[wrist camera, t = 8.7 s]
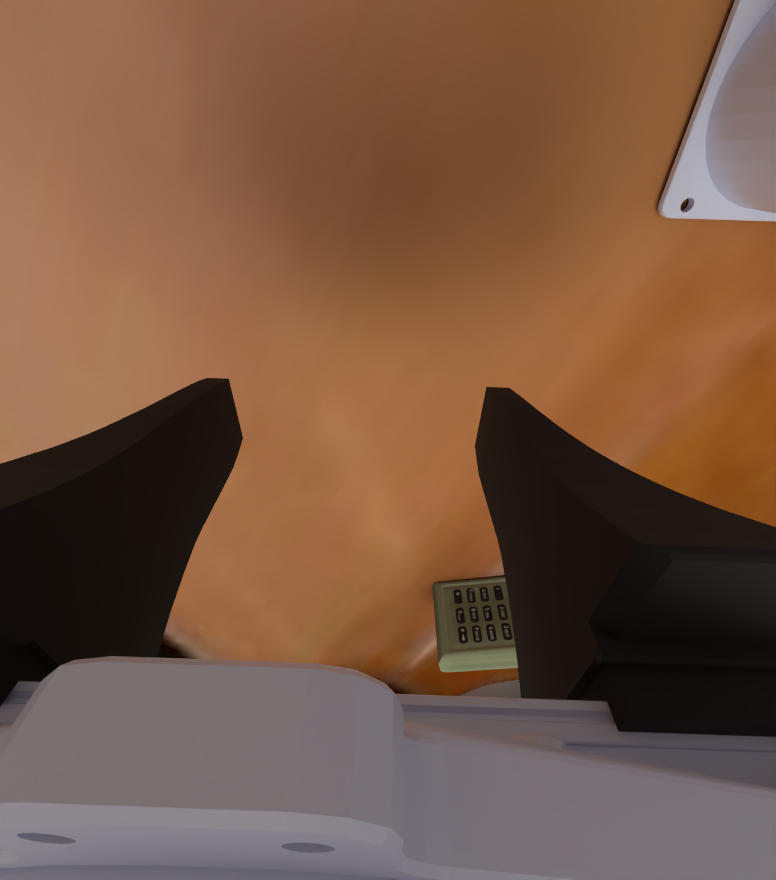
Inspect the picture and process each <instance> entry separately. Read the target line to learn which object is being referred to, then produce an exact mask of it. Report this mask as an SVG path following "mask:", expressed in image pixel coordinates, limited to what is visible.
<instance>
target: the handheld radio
mask: <svg viewBox="0 0 776 880" xmlns="http://www.w3.org/2000/svg"><path fill="white" fill-rule="evenodd" d="M432 586H433V599H434V611H435V624H436V637H437V649H438V662H439V666H440V669H441V672H459V671H474V670H489V669H504V668H518V663H517V655H516V648H515V640H514V633H513V625H512V618H511V611H510V605H509V598H508V592H507V585H506V579H505V576H501V577H491V578H480V579H470V580H460V581H450V582H440V583H434V584H433V585H432Z"/></svg>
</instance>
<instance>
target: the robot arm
mask: <svg viewBox="0 0 776 880" xmlns="http://www.w3.org/2000/svg"><path fill="white" fill-rule="evenodd" d="M687 198H688V199H689V203H688V205H687V207H686V208H685V209H684V210H682V211H681V209H680V208H681V204H682V202H683V201H684V200H685V199H687ZM658 211H659V214H660V215H661V216H663V217H667V218H681V219H714V220H747V221H776V0H735V1H734V4H733V7H732V9H731V12H730V15H729V17H728V20H727V23H726V25H725V28H724V31H723V33H722V36H721V39H720V41H719V44H718V47H717V49H716V52H715V55H714V57H713V60H712V63H711V65H710V68H709V71H708V73H707V76H706V79H705V82H704V84H703V87H702V90H701V92H700V95H699V98H698V100H697V103H696V106H695V108H694V111H693V114H692V116H691V119H690V122H689V124H688V127H687V130H686V132H685V135H684V138H683V140H682V143H681V146H680V148H679V151H678V154H677V156H676V159H675V162H674V164H673V167H672V170H671V172H670V175H669V178H668V181H667V183H666V186H665V189H664V191H663V194H662V197H661V199H660V202H659V206H658ZM242 439H243V436H242V432H241V428H240V424H239V420H238V416H237V412H236V407H235V403H234V399H233V395H232V391H231V387H230V383H229V379H220V378H206V379H203V380H200V381H198V382H195V383H193V384H191V385H189V386H187V387H185V388H183V389H181V390H179V391H177V392H175V393H173V394H171V395H169V396H167V397H165V398H163V399H161V400H159V401H158V402H156V403H154V404H152V405H150V406H148V407H146V408H144V409H142V410H140V411H138V412H136V413H133V414H131V415H129V416H127V417H125V418H123V419H121V420H119V421H116V422H114V423H112V424H110V425H108V426H106V427H104V428H101V429H99V430H97V431H94V432H92V433H89V434H87V435H84V436H82V437H79V438H77V439H74V440H71V441H69V442H66V443H63V444H61V445H58V446H55V447H52V448H49V449H46V450H43V451H40V452H37V453H33V454H30V455H27V456H24V457H21V458H18V459H15V460H11V461H8V462H5V463H2V464H0V880H776V527H773V526H770V525H767V524H764V523H761V522H758V521H755V520H752V519H749V518H746V517H743V516H740V515H737V514H733V513H730V512H727V511H724V510H722V509H719V508H716V507H714V506H711V505H708V504H706V503H703V502H701V501H698V500H696V499H693V498H690V497H688V496H685V495H683V494H680V493H678V492H676V491H673V490H671V489H669V488H666V487H664V486H662V485H660V484H658V483H655V482H653V481H651V480H649V479H647V478H645V477H643V476H641V475H638V474H636V473H634V472H632V471H630V470H628V469H626V468H625V467H623V466H621V465H619V464H617V463H615V462H614V461H612V460H610V459H608V458H607V457H605V456H603V455H601V454H600V453H598V452H596V451H595V450H593V449H591V448H590V447H588V446H586V445H585V444H583V443H582V442H581V441H579V440H578V439H576V438H575V437H573V436H572V435H570V434H569V433H567V432H566V431H565V430H563V429H562V428H560V427H559V426H558V425H556V424H555V423H554V422H552V421H551V420H550V419H548V418H547V417H546V416H545V415H543V414H542V413H541V412H539V411H538V410H537V409H536V408H534V407H533V406H532V405H531V404H529V403H528V402H527V401H526V400H524V399H523V398H522V397H521V396H519V395H518V394H517V393H515V392H514V391H513V390H511V389H510V388H498V387H486V392H485V398H484V403H483V408H482V413H481V418H480V423H479V428H478V433H477V438H476V443H475V449H476V457H477V465H478V471H479V477H480V480H481V484H482V487H483V491H484V494H485V498H486V501H487V505H488V508H489V512H490V515H491V518H492V522H493V525H494V529H495V532H496V535H497V539H498V543H499V547H500V551H501V556H502V562H503V568H504V573H505V579H506V585H507V592H508V598H509V605H510V611H511V618H512V625H513V633H514V640H515V648H516V655H517V663H518V672H519V682H520V691H521V698H494V697H467V696H438V695H409V694H394V692H393V691H392V690H391V689H390V688H389V687H388V686H387V685H386V684H385V683H383V682H381V681H379V680H377V679H375V678H372V677H370V676H368V675H366V674H364V673H362V672H360V671H358V670H355V669H348V668H342V667H335V666H329V665H322V664H316V663H294V662H265V661H236V660H207V659H178V658H157V655H158V651H159V648H160V645H161V641H162V638H163V635H164V632H165V628H166V625H167V622H168V618H169V615H170V612H171V609H172V606H173V603H174V600H175V597H176V594H177V591H178V588H179V585H180V583H181V580H182V577H183V574H184V571H185V569H186V566H187V563H188V561H189V558H190V555H191V553H192V550H193V547H194V545H195V542H196V540H197V538H198V536H199V534H200V532H201V529H202V527H203V525H204V524H205V522H206V520H207V518H208V516H209V514H210V512H211V510H212V508H213V506H214V504H215V502H216V500H217V499H218V497H219V495H220V493H221V491H222V489H223V487H224V485H225V483H226V481H227V479H228V477H229V475H230V473H231V471H232V469H233V467H234V464H235V461H236V458H237V456H238V452H239V449H240V446H241V443H242Z"/></svg>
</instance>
